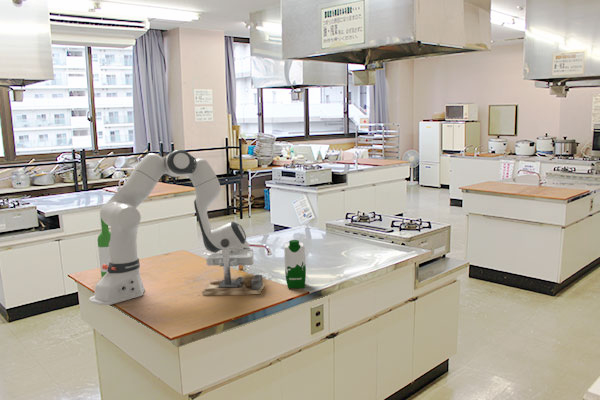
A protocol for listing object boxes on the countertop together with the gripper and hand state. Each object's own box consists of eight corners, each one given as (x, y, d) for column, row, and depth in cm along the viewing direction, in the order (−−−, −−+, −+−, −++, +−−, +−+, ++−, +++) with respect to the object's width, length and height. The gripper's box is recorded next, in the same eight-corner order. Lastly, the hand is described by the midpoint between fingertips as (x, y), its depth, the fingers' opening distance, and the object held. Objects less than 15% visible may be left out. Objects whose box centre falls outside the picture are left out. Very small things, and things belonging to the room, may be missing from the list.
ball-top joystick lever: (218, 289, 204) (215, 240, 201) (223, 284, 211) (219, 236, 208) (240, 289, 203) (236, 240, 200) (243, 283, 210) (240, 236, 207)
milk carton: (285, 289, 205) (283, 242, 202) (285, 283, 214) (283, 238, 211) (307, 288, 205) (304, 241, 202) (306, 282, 214) (304, 237, 211)
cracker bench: (202, 294, 203) (201, 282, 203) (209, 287, 213) (208, 274, 212) (259, 294, 201) (259, 281, 200) (264, 286, 210) (263, 274, 210)
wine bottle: (108, 274, 240) (101, 213, 236) (122, 274, 238) (115, 213, 234) (97, 279, 233) (91, 216, 228) (112, 279, 231) (105, 216, 226)
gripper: (210, 249, 219) (201, 257, 205) (256, 248, 217) (249, 256, 203) (211, 263, 220) (202, 272, 206) (256, 262, 218) (250, 271, 204)
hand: (226, 264), depth 205 cm, fingers closed on ball-top joystick lever, 3 cm apart
